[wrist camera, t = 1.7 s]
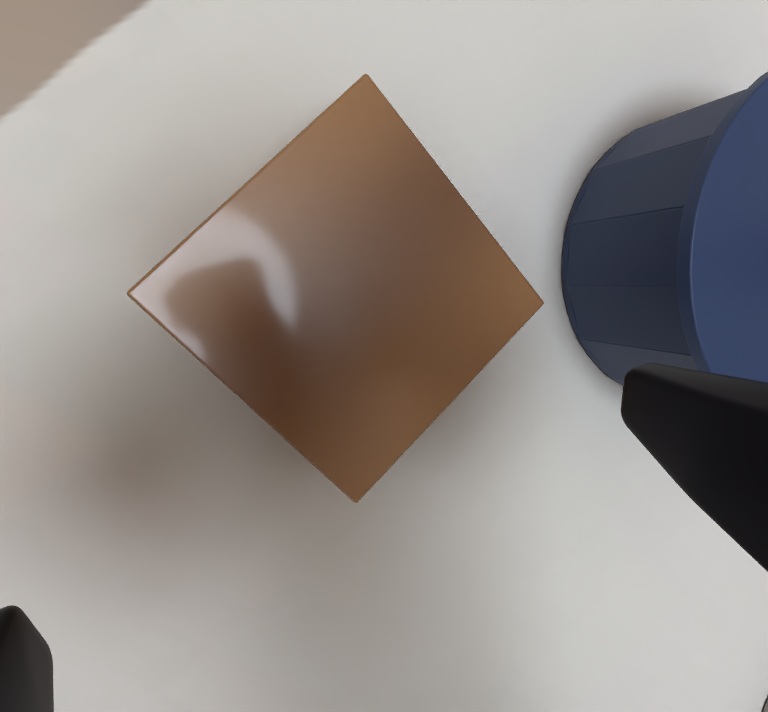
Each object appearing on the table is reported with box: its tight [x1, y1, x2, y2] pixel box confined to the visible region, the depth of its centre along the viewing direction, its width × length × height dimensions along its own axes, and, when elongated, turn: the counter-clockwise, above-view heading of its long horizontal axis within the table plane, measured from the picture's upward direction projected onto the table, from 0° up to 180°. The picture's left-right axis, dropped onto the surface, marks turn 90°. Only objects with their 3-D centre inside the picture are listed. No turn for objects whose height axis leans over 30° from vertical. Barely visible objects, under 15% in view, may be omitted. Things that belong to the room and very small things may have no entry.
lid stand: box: [127, 74, 544, 503], centre depth 20 cm, size 10×10×4 cm
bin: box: [562, 89, 746, 385], centre depth 24 cm, size 14×14×7 cm
